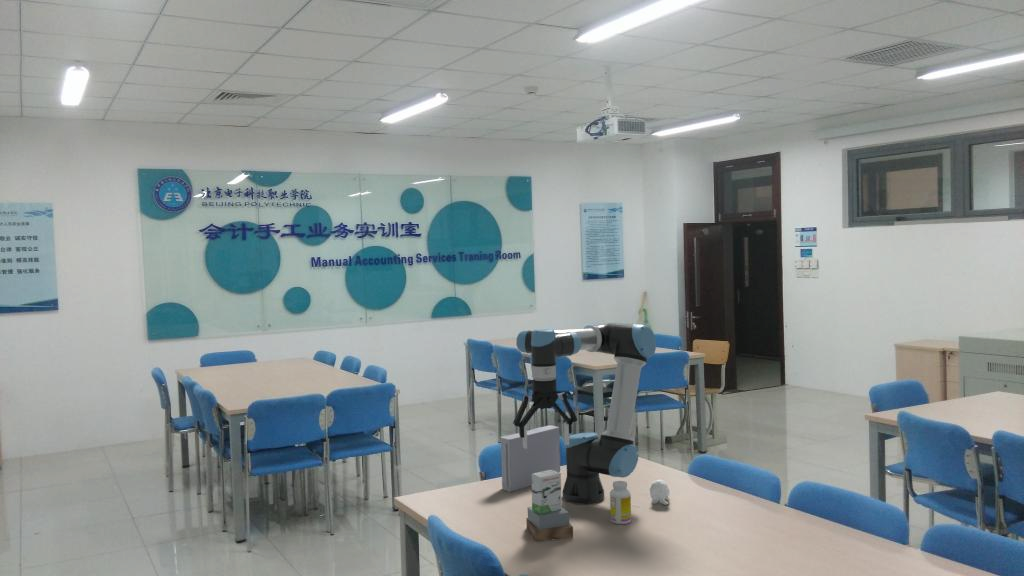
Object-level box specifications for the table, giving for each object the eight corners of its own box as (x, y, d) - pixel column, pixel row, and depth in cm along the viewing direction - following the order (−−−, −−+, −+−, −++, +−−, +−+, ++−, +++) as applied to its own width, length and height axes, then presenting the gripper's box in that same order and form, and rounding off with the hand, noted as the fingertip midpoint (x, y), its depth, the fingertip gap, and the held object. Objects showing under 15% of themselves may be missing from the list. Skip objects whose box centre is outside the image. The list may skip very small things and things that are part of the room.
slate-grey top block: (556, 515, 247) (556, 503, 247) (569, 525, 238) (568, 512, 238) (527, 519, 244) (527, 507, 244) (539, 529, 234) (539, 516, 234)
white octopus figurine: (648, 480, 264) (655, 474, 276) (648, 505, 264) (655, 498, 275) (666, 482, 262) (673, 475, 273) (666, 507, 262) (673, 499, 273)
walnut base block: (562, 526, 248) (562, 514, 248) (573, 539, 236) (572, 526, 236) (526, 530, 245) (526, 517, 245) (535, 543, 234) (535, 530, 234)
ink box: (541, 515, 236) (540, 477, 235) (531, 510, 240) (530, 473, 239) (562, 509, 241) (561, 472, 240) (552, 505, 245) (551, 468, 244)
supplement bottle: (633, 519, 251) (632, 481, 251) (627, 526, 245) (627, 486, 245) (614, 516, 254) (613, 478, 253) (608, 523, 248) (607, 484, 247)
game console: (499, 489, 288) (498, 437, 287) (550, 473, 306) (548, 424, 305) (510, 492, 283) (508, 439, 282) (560, 476, 302) (559, 427, 301)
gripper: (508, 383, 231) (510, 452, 232) (586, 378, 237) (587, 445, 238) (502, 379, 239) (504, 446, 240) (578, 374, 244) (580, 439, 245)
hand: (546, 445), depth 239 cm, fingers open, 13 cm apart
